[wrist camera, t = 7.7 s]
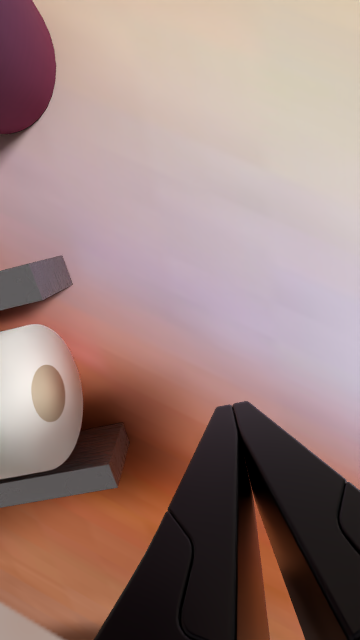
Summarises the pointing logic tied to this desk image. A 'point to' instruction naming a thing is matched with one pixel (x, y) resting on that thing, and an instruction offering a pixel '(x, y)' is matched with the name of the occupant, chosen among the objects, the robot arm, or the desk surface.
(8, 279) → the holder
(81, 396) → the roll
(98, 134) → the desk surface
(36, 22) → the cup
